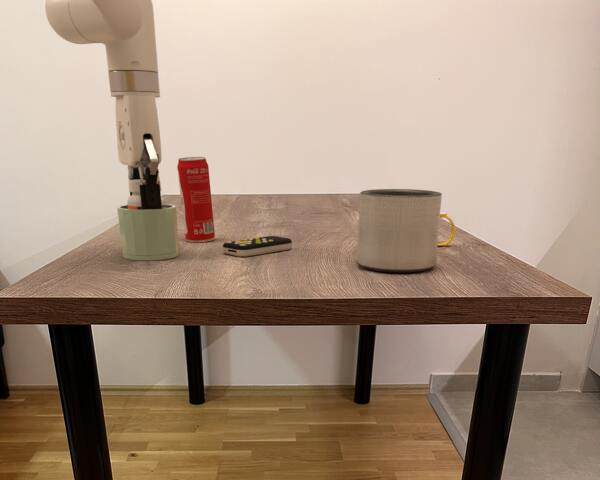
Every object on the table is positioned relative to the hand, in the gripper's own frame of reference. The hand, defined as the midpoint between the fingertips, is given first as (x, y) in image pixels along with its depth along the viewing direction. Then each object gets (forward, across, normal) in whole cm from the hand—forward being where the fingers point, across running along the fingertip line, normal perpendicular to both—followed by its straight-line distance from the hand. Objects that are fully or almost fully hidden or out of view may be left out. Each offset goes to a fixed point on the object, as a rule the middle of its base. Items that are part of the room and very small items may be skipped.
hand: (146, 207), depth 106 cm
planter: (+8, +27, +32) cm, 43 cm away
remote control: (+8, +4, +18) cm, 20 cm away
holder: (+8, 0, 0) cm, 8 cm away
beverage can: (+8, -12, +13) cm, 19 cm away
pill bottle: (+7, 0, 0) cm, 7 cm away
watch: (+8, +14, +51) cm, 53 cm away
